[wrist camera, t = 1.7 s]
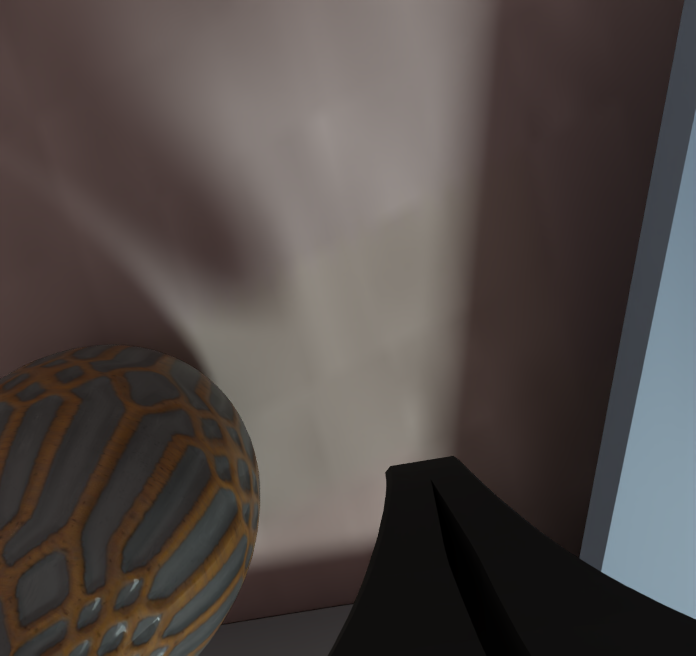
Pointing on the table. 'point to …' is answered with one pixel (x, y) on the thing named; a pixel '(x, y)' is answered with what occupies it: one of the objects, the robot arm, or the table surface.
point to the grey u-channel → (281, 634)
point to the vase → (120, 505)
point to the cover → (656, 376)
